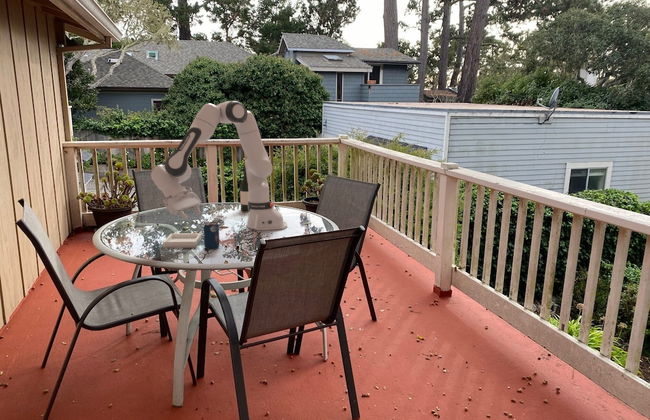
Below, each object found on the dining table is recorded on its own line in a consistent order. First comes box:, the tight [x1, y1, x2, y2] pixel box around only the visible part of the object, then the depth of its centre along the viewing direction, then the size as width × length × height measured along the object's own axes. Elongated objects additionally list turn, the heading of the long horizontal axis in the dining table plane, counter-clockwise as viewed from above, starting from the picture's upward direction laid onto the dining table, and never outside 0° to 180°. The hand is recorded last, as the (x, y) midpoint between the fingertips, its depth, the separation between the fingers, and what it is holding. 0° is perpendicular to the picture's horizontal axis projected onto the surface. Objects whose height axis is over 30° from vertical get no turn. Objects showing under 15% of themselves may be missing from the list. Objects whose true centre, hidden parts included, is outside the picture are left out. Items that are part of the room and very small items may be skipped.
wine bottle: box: [239, 162, 249, 212], centre depth 310 cm, size 8×8×30 cm
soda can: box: [203, 221, 220, 251], centre depth 232 cm, size 7×7×12 cm
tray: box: [162, 232, 203, 249], centre depth 240 cm, size 15×15×3 cm
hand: (193, 216), depth 234 cm, fingers open, 8 cm apart
